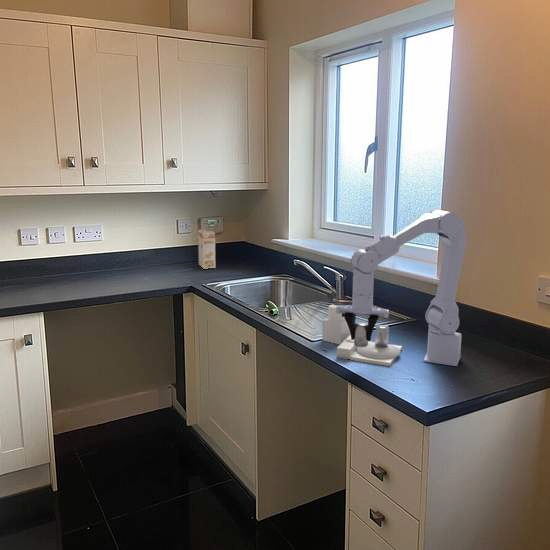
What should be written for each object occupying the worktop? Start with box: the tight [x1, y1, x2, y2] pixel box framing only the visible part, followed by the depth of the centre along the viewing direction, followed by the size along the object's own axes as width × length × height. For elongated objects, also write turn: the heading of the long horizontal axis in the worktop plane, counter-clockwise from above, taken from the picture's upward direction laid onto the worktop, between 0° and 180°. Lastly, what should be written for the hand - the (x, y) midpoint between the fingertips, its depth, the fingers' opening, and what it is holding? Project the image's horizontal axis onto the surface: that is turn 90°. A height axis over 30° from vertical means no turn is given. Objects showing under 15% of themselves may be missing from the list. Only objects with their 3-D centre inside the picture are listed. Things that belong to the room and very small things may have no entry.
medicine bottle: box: [321, 303, 351, 346], centre depth 182 cm, size 7×7×12 cm
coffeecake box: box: [197, 228, 217, 270], centre depth 298 cm, size 15×7×20 cm, turn 16°
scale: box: [336, 335, 403, 367], centre depth 170 cm, size 17×16×4 cm
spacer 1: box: [354, 321, 368, 347], centre depth 159 cm, size 4×4×6 cm
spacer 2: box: [374, 324, 390, 348], centre depth 172 cm, size 4×4×6 cm
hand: (361, 339), depth 159 cm, fingers closed on spacer 1, 4 cm apart
